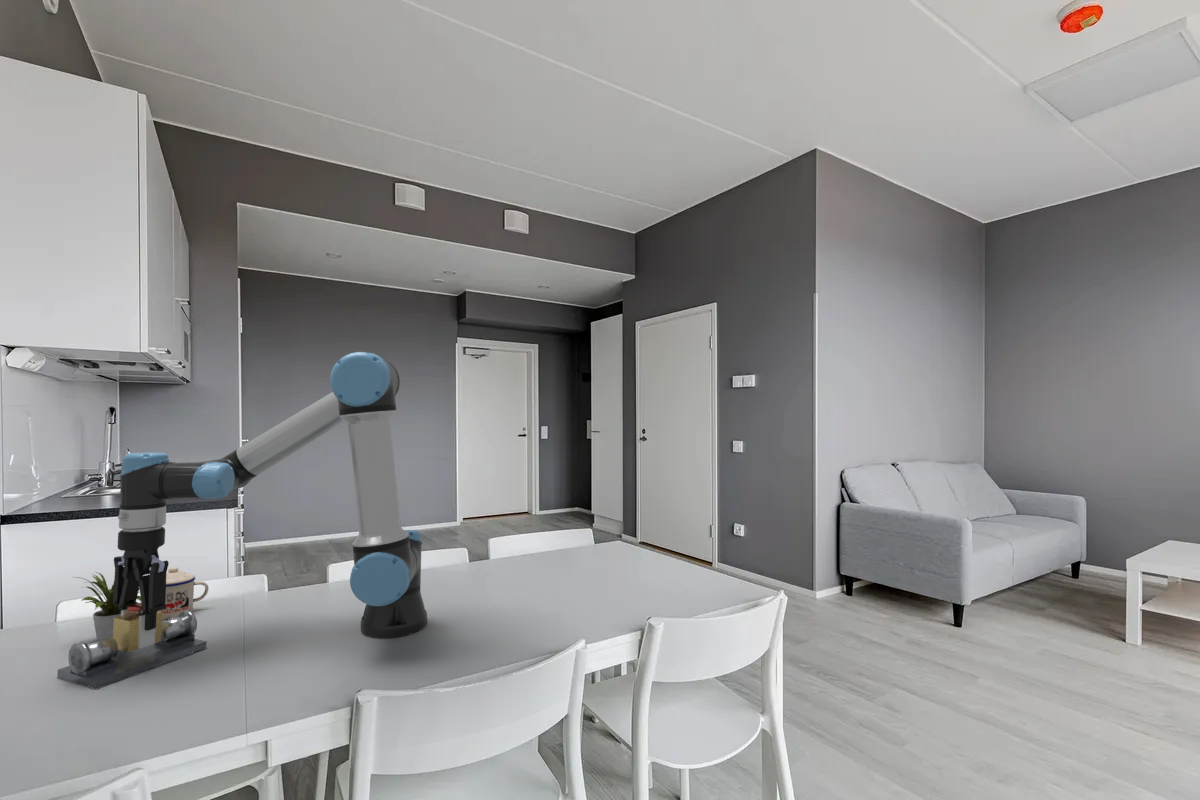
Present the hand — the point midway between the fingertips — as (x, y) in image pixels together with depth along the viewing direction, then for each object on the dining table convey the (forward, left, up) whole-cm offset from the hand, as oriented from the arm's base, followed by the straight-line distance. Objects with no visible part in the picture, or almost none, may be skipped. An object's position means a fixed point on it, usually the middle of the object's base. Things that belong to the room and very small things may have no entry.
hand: (137, 643), depth 115 cm
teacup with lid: (+22, -22, -4) cm, 31 cm away
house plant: (+18, -4, -4) cm, 19 cm away
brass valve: (0, 0, 0) cm, 0 cm away
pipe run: (0, 0, -4) cm, 4 cm away
